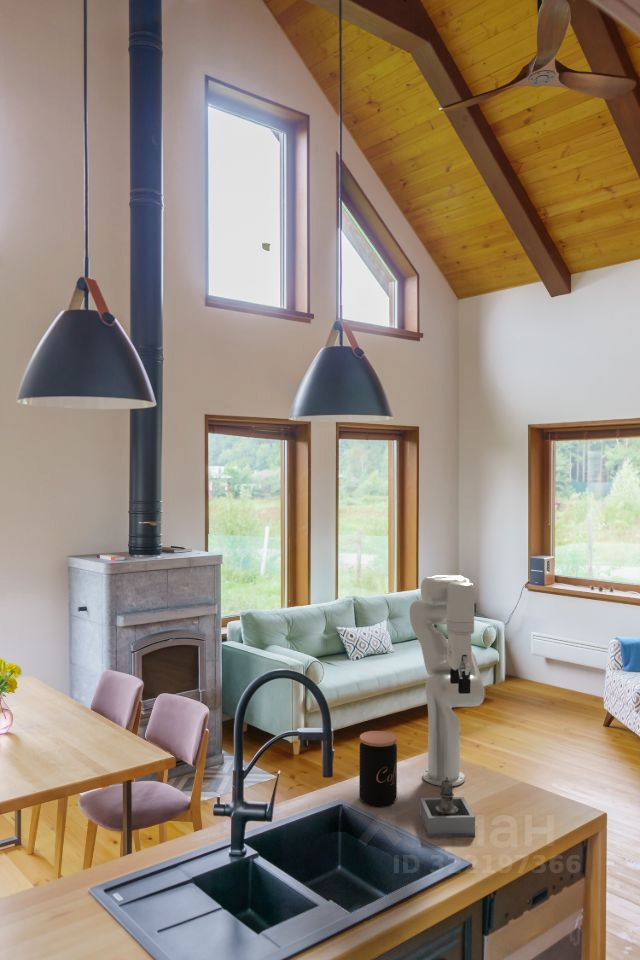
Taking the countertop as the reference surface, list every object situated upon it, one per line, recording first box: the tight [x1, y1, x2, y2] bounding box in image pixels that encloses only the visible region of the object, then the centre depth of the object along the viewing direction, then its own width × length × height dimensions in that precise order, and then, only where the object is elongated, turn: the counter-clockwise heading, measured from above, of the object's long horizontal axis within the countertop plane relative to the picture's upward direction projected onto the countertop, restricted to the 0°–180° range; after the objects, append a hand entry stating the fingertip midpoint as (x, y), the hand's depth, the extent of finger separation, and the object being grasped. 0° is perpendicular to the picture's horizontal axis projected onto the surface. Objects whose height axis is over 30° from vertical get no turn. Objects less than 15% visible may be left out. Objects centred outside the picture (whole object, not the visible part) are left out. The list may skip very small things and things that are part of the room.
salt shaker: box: [436, 777, 458, 816], centre depth 202 cm, size 6×6×12 cm
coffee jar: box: [358, 730, 398, 808], centre depth 218 cm, size 11×11×18 cm
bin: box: [419, 796, 476, 839], centre depth 202 cm, size 12×12×5 cm
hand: (460, 688), depth 213 cm, fingers open, 9 cm apart
